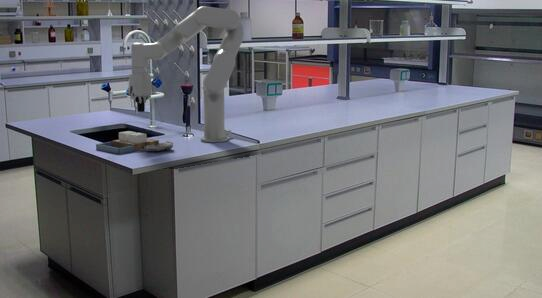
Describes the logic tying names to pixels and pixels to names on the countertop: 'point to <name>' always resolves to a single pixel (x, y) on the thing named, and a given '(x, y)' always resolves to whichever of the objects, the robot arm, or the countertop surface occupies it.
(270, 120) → the countertop surface
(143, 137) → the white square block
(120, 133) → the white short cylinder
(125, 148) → the box
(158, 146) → the stone
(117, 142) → the board
